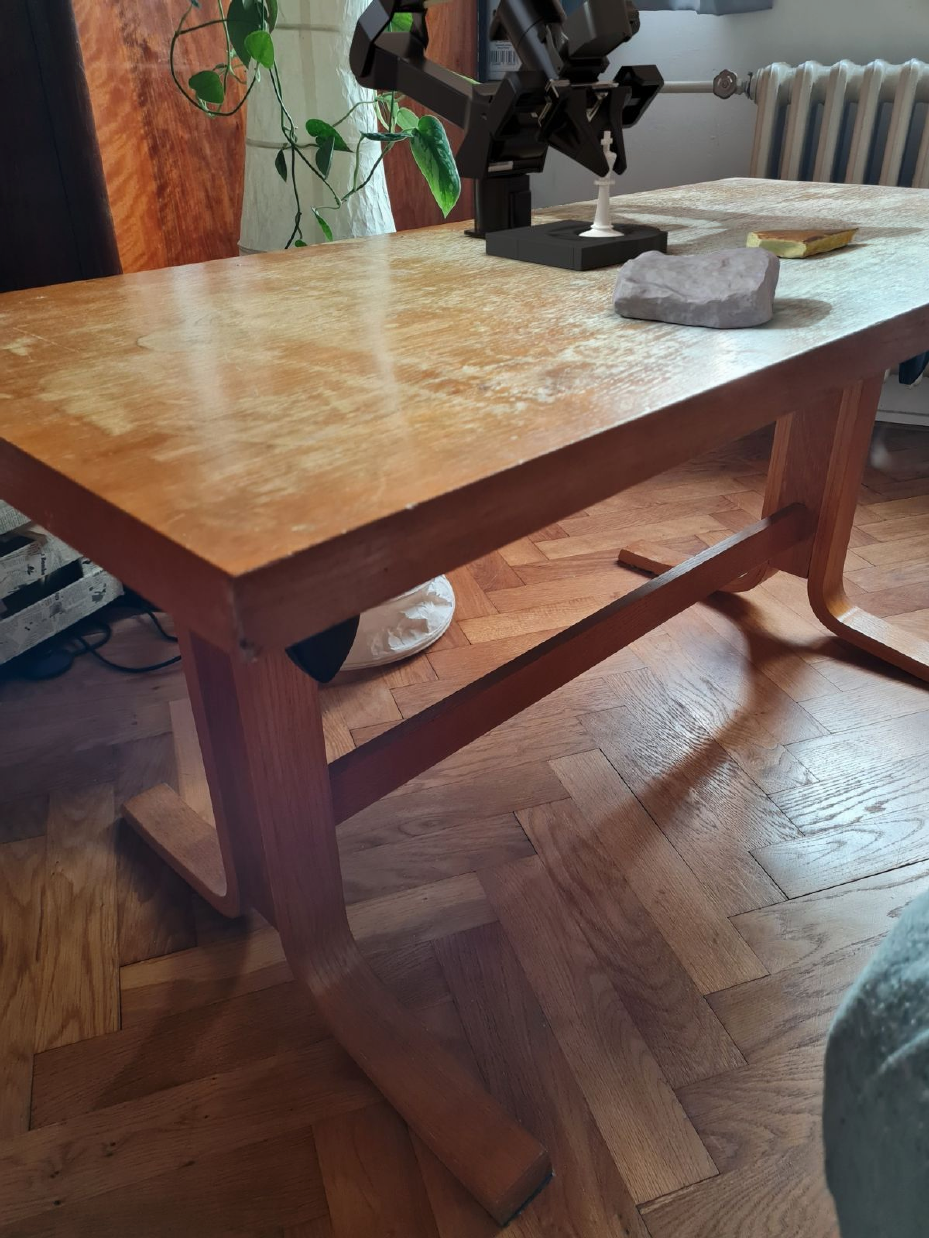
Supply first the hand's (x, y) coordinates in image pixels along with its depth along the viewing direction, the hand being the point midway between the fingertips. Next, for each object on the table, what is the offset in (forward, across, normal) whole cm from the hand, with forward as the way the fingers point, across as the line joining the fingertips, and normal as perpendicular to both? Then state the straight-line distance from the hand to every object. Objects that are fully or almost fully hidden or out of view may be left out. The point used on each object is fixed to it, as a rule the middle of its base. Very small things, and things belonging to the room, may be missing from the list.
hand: (614, 173), depth 85 cm
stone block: (+21, -13, -11) cm, 27 cm away
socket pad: (+3, -2, +7) cm, 8 cm away
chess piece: (+4, 0, +6) cm, 7 cm away
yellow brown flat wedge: (+13, +14, -3) cm, 19 cm away
